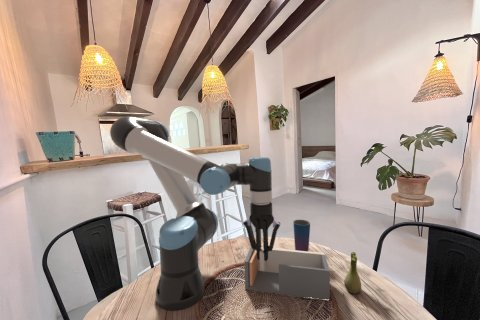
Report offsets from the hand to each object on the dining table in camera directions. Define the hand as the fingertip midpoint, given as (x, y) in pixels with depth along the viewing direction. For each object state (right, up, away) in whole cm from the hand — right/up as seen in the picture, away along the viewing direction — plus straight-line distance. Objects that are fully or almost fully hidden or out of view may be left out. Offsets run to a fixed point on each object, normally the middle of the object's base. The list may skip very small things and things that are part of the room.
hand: (262, 268), depth 74 cm
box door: (-3, -3, 0) cm, 4 cm away
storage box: (+8, -4, -2) cm, 9 cm away
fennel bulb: (+28, -4, -6) cm, 29 cm away
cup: (+18, -3, +15) cm, 24 cm away
